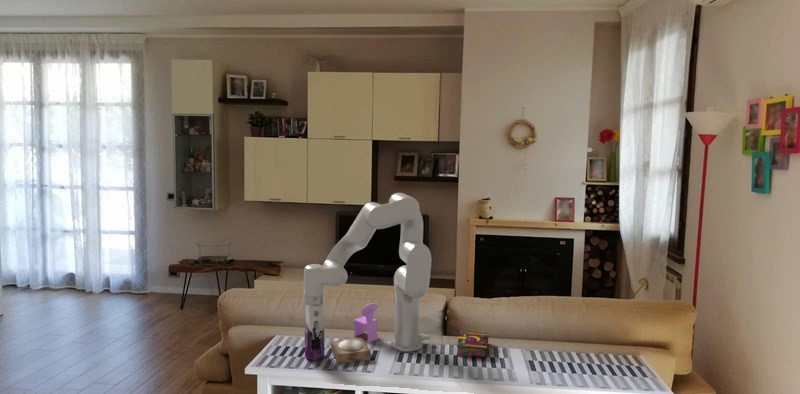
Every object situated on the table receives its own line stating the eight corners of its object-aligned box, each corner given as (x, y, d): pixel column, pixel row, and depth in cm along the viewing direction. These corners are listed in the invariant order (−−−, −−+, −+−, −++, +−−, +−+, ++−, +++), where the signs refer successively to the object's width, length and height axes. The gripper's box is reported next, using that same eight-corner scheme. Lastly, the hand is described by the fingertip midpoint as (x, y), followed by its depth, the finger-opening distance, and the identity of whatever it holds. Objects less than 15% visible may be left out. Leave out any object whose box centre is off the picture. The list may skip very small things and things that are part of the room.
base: (361, 346, 209) (361, 336, 208) (370, 359, 197) (370, 349, 197) (331, 350, 205) (331, 340, 204) (338, 363, 194) (338, 353, 193)
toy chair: (366, 331, 223) (366, 296, 221) (381, 337, 217) (381, 302, 215) (351, 337, 218) (351, 301, 215) (365, 343, 212) (366, 306, 209)
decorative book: (488, 343, 214) (488, 331, 214) (486, 361, 199) (487, 348, 198) (459, 340, 216) (459, 329, 216) (456, 358, 201) (456, 345, 200)
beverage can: (320, 362, 195) (320, 330, 193) (301, 360, 196) (301, 328, 194) (327, 354, 201) (327, 323, 200) (309, 352, 203) (308, 321, 201)
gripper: (329, 305, 189) (328, 352, 191) (319, 290, 205) (319, 333, 207) (307, 307, 186) (307, 354, 189) (299, 292, 202) (299, 335, 205)
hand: (313, 343), depth 198 cm, fingers open, 9 cm apart
